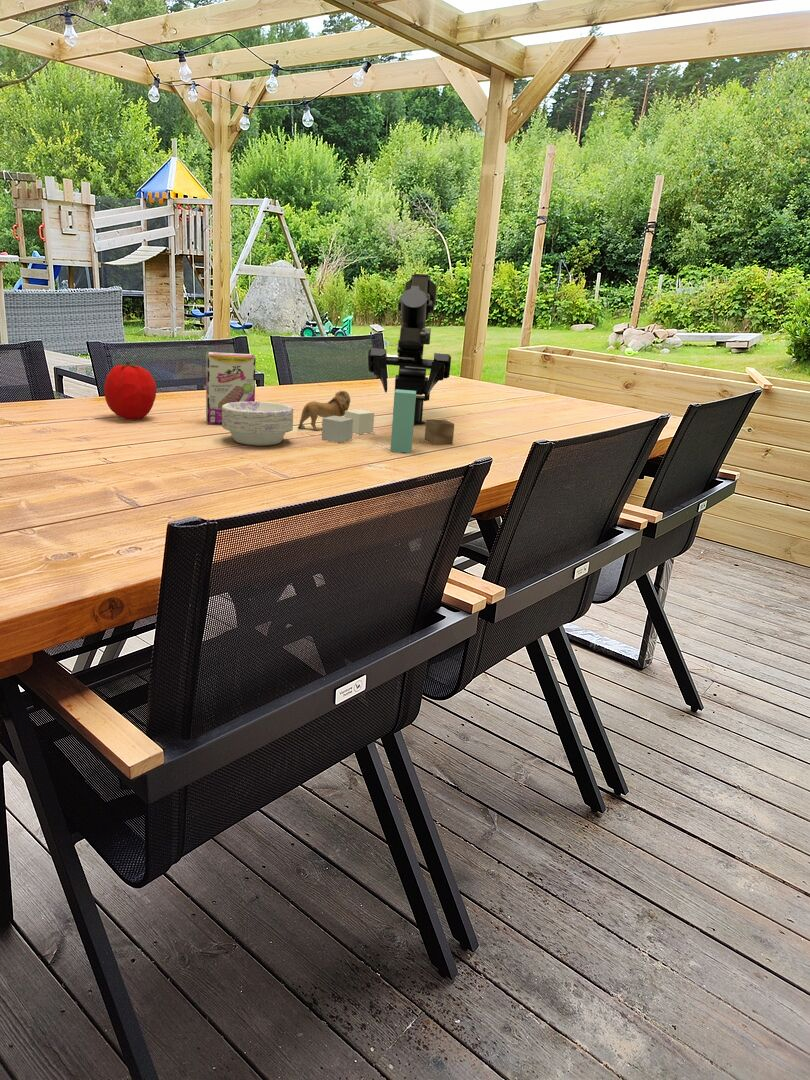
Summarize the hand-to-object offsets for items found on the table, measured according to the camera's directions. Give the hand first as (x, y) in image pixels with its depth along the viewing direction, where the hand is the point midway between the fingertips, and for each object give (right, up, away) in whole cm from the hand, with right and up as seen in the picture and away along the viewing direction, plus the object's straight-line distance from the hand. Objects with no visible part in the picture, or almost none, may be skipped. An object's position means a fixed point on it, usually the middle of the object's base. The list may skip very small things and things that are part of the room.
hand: (406, 392), depth 171 cm
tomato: (-65, -4, +10) cm, 66 cm away
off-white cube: (-12, -7, +15) cm, 20 cm away
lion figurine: (-20, -6, +16) cm, 26 cm away
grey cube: (-16, -10, +4) cm, 19 cm away
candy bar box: (-42, -5, +13) cm, 45 cm away
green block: (-1, -13, -1) cm, 13 cm away
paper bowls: (-33, -12, -3) cm, 35 cm away
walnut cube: (+8, -10, +10) cm, 16 cm away
